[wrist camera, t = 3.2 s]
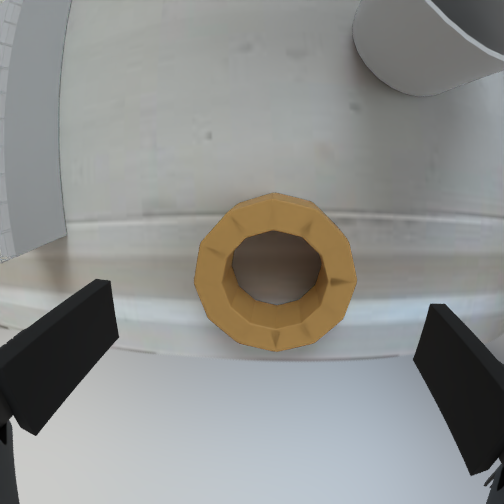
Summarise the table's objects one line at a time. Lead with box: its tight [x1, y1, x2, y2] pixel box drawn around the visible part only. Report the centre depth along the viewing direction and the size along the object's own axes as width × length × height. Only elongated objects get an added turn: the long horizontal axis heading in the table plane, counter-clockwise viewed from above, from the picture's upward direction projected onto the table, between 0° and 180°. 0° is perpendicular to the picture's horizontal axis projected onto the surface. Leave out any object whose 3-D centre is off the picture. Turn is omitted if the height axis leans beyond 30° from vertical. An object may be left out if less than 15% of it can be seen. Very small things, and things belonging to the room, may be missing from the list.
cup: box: [352, 0, 504, 97], centre depth 9 cm, size 7×10×9 cm
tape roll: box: [194, 193, 357, 352], centre depth 17 cm, size 8×8×3 cm
